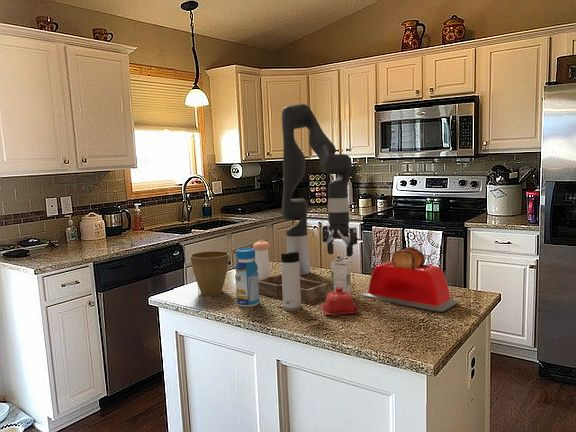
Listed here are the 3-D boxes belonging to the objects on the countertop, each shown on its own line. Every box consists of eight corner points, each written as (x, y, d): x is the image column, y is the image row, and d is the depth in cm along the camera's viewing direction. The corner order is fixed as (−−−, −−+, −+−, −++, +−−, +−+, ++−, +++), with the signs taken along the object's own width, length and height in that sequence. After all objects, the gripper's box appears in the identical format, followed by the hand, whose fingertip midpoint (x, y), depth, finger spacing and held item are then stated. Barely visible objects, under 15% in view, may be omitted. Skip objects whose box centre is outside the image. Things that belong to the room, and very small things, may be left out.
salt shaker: (262, 282, 205) (260, 237, 203) (275, 284, 201) (273, 239, 199) (251, 286, 199) (248, 240, 197) (264, 288, 195) (262, 241, 193)
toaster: (360, 297, 178) (358, 247, 176) (379, 289, 187) (378, 241, 185) (442, 313, 156) (442, 256, 154) (459, 303, 165) (459, 249, 163)
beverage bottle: (260, 306, 171) (257, 251, 168) (236, 308, 170) (233, 252, 168) (259, 299, 179) (257, 246, 177) (237, 301, 178) (234, 248, 176)
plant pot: (211, 301, 180) (209, 259, 178) (184, 296, 189) (182, 255, 187) (238, 291, 191) (236, 252, 190) (212, 287, 200) (210, 249, 199)
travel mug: (288, 312, 163) (286, 254, 161) (280, 307, 169) (277, 251, 166) (305, 309, 166) (302, 251, 163) (295, 304, 171) (293, 249, 169)
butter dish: (320, 307, 167) (319, 283, 166) (353, 305, 168) (352, 281, 167) (324, 318, 156) (323, 292, 155) (360, 316, 157) (359, 290, 156)
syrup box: (336, 296, 180) (334, 258, 178) (351, 297, 177) (350, 258, 176) (331, 300, 174) (330, 261, 173) (347, 301, 172) (346, 261, 170)
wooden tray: (283, 284, 199) (282, 273, 199) (331, 295, 181) (331, 282, 181) (255, 292, 189) (255, 280, 188) (304, 304, 171) (303, 291, 170)
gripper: (361, 210, 170) (362, 255, 171) (330, 208, 180) (331, 251, 182) (347, 212, 165) (349, 259, 166) (316, 210, 175) (318, 254, 176)
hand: (339, 255), depth 174 cm, fingers open, 8 cm apart
